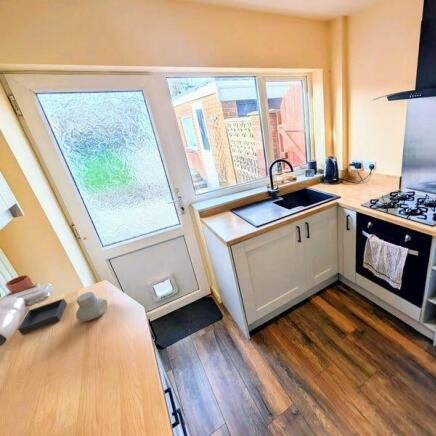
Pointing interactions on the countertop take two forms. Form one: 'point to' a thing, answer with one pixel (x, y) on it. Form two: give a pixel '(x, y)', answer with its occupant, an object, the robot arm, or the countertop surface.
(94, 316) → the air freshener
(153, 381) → the countertop surface
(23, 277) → the tumbler
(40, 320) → the tray
